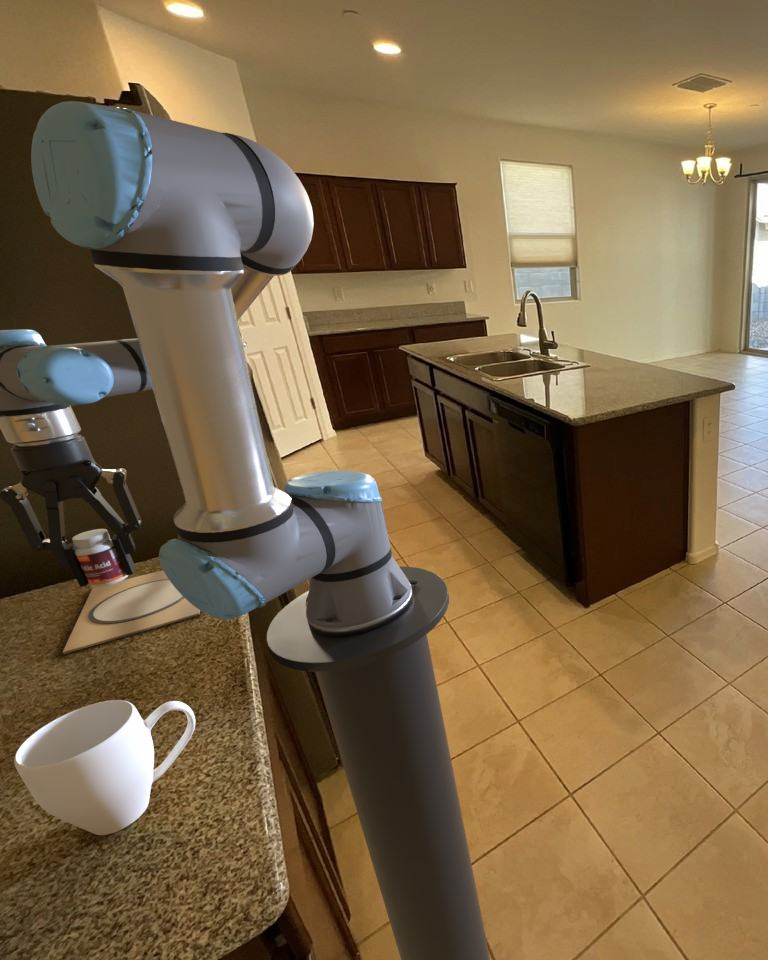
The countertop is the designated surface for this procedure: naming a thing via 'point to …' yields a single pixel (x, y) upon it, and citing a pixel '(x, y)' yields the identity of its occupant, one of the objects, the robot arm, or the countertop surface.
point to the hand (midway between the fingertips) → (108, 576)
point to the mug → (97, 764)
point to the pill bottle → (98, 558)
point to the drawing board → (128, 610)
